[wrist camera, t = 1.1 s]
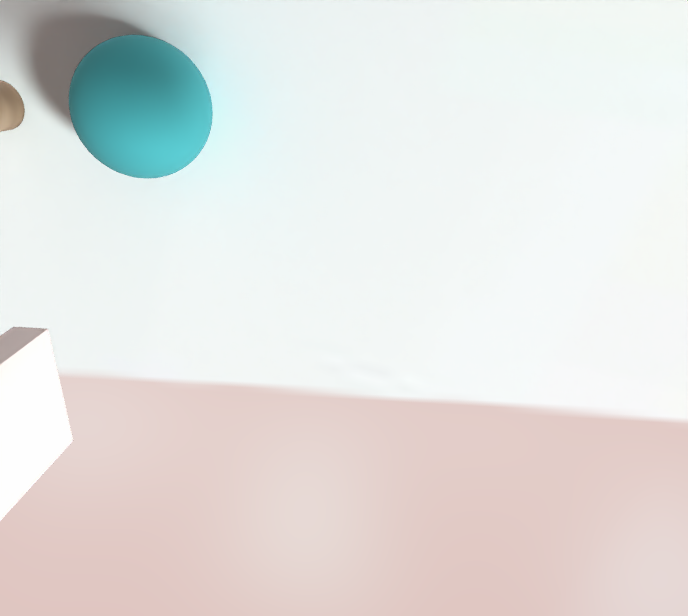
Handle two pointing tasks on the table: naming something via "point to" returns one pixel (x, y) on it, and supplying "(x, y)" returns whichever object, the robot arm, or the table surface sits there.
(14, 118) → the pin
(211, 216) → the table surface
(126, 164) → the ball
